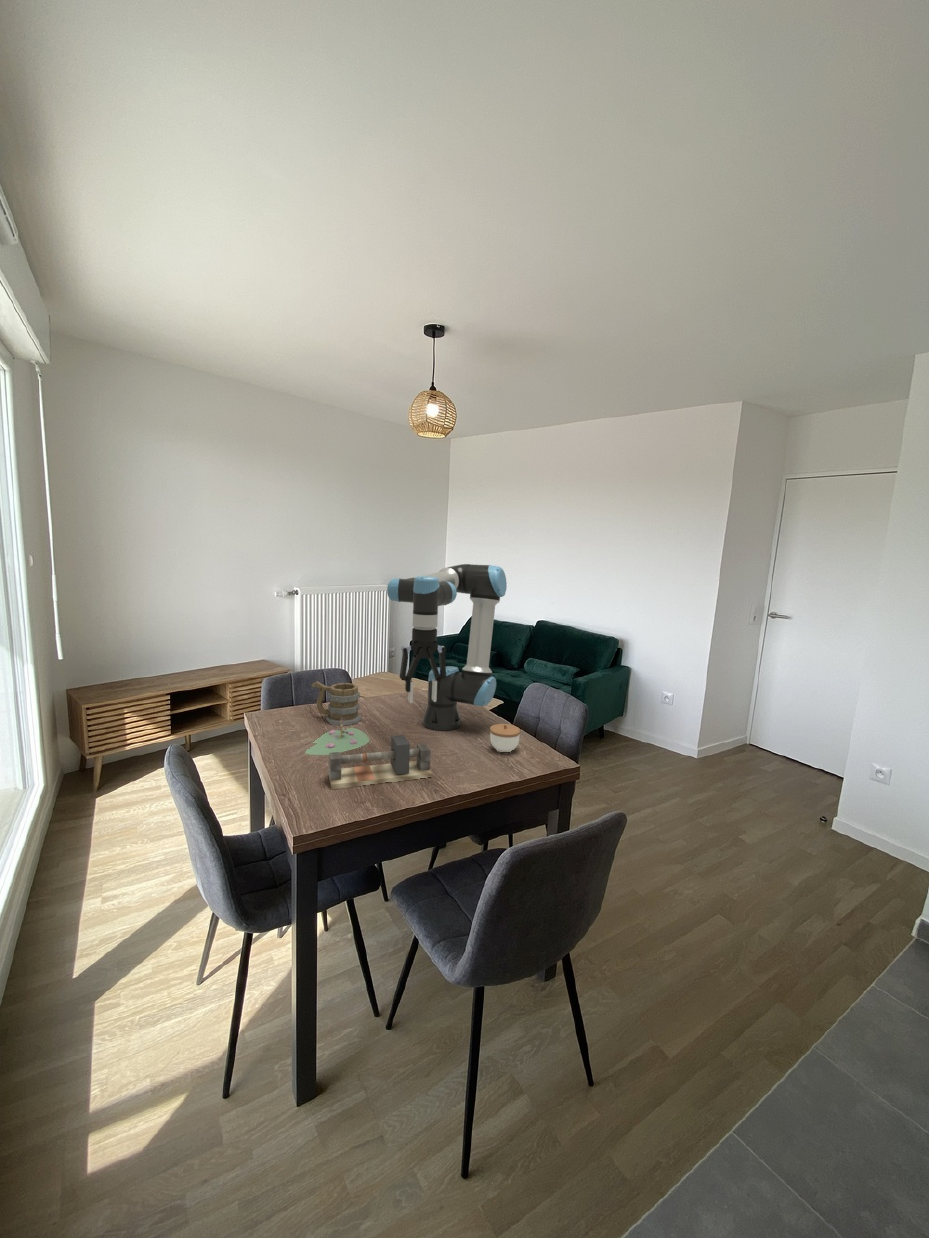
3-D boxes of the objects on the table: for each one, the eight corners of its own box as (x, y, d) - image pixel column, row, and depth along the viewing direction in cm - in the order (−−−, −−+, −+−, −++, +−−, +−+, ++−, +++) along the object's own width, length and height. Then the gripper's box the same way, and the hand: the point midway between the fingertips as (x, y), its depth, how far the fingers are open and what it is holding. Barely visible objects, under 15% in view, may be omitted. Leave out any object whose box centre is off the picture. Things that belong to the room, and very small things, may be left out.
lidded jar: (523, 747, 183) (524, 722, 181) (513, 758, 173) (514, 732, 172) (495, 741, 187) (496, 717, 186) (484, 751, 177) (485, 726, 176)
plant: (343, 762, 165) (344, 736, 164) (289, 752, 171) (289, 726, 170) (379, 736, 189) (379, 713, 187) (330, 728, 195) (330, 706, 193)
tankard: (365, 717, 207) (365, 681, 205) (351, 727, 195) (351, 689, 193) (320, 711, 212) (320, 676, 210) (304, 721, 200) (304, 684, 198)
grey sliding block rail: (423, 764, 165) (424, 740, 164) (431, 777, 156) (432, 753, 154) (328, 774, 155) (328, 749, 154) (331, 789, 145) (331, 763, 144)
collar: (403, 762, 161) (403, 734, 160) (409, 773, 154) (409, 744, 153) (390, 763, 160) (391, 735, 159) (396, 774, 153) (396, 745, 151)
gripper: (451, 625, 160) (448, 695, 163) (389, 626, 153) (388, 699, 156) (459, 629, 153) (456, 702, 156) (395, 630, 146) (393, 706, 149)
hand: (422, 701), depth 156 cm, fingers open, 7 cm apart
